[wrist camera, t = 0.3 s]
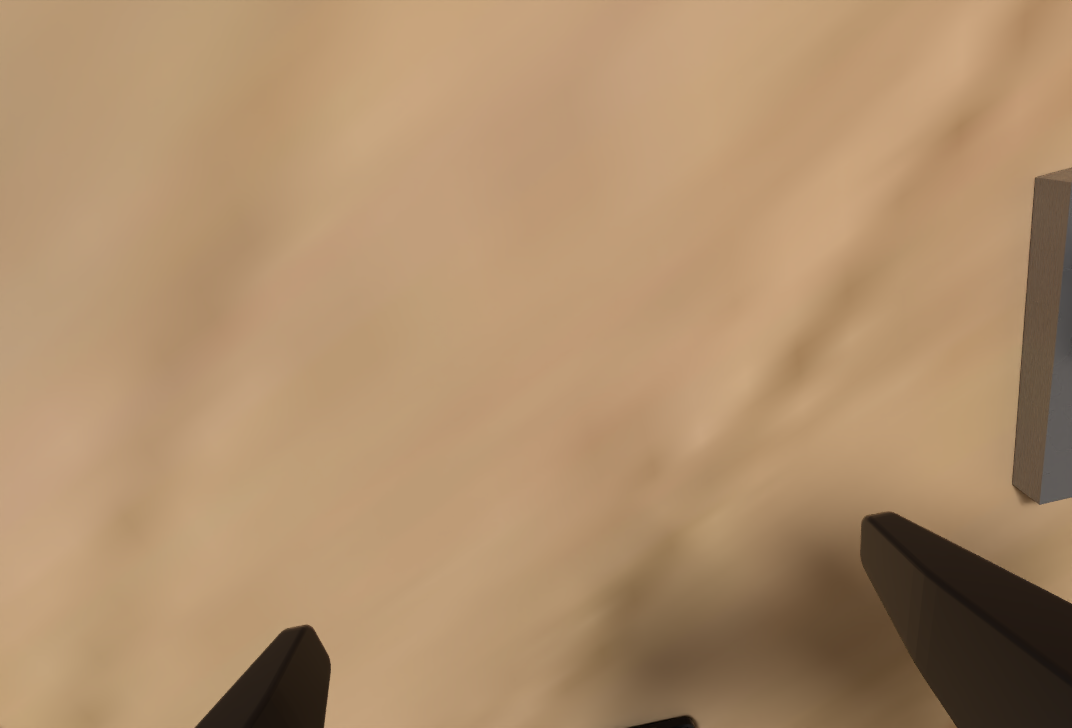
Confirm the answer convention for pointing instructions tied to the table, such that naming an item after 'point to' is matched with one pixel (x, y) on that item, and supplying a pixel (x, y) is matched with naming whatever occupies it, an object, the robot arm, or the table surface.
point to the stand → (1047, 349)
